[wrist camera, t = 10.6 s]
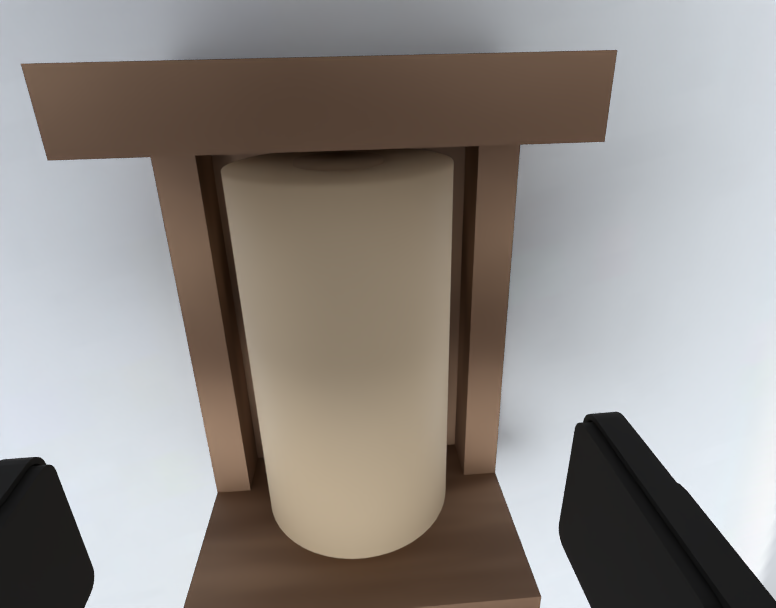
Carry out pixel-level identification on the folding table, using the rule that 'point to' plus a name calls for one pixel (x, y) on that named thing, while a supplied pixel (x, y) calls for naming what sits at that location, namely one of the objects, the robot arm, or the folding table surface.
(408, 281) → the paper roll
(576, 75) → the roll cradle
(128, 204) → the folding table surface
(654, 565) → the robot arm
